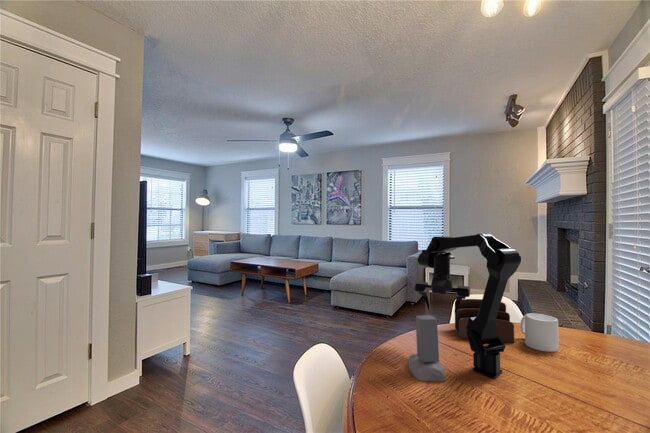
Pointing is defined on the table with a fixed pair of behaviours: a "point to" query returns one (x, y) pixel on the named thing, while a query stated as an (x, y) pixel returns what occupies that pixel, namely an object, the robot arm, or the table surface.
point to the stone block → (426, 369)
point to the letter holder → (471, 309)
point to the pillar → (427, 338)
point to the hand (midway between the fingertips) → (442, 312)
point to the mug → (540, 332)
